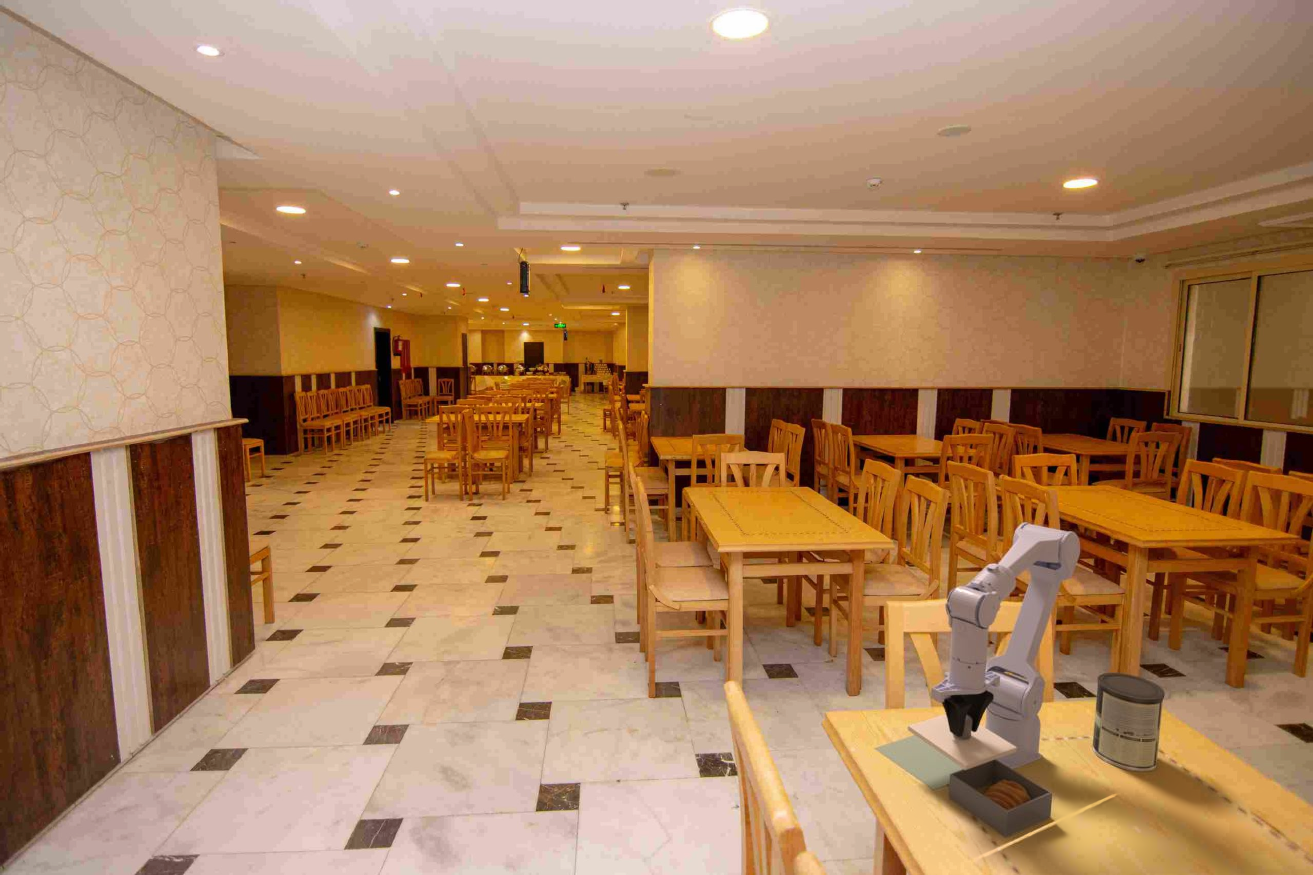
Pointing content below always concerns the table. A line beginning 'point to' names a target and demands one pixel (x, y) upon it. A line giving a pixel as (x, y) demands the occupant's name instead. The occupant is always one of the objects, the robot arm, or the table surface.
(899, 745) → the mat
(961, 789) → the dish
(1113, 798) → the table surface
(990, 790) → the pastry
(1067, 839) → the table surface
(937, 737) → the lid
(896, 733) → the table surface
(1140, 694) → the coffee can
